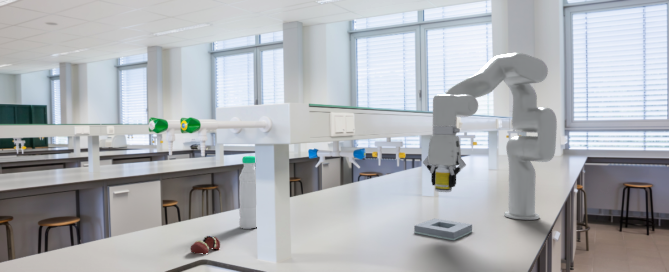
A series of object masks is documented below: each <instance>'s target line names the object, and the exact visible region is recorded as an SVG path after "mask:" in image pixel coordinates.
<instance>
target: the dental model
mask: <svg viewBox="0 0 669 272" xmlns="http://www.w3.org/2000/svg"><path fill="white" fill-rule="evenodd" d="M209 248H213V249H219V248H221V242H220V239H218V237H216V236H213V235H207V236H205V237H204V238H203V239H202V240H196V241H195V242H194V243H192V244H191V246H190V253H191V252H195V253H194V254H196V253H203V254H206V253H208V252H209V250H210V249H209ZM213 249H212V250H213ZM208 254H209V253H208Z"/></svg>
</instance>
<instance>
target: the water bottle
mask: <svg viewBox="0 0 669 272" xmlns="http://www.w3.org/2000/svg"><path fill="white" fill-rule="evenodd" d="M255 157H256V156H254V155H248V156H247V155H246V156H242V161H241V162H242V164H243V167H242V168H241V172H240V174H239V175H238V176H239V177H238V180H239V187H238V188H239V191H238V195H239V196H238V197H239V198H238V199H239V209H238V210H239V222H238V223H239V228H241V229H242V228H243V230H252V229H251V228H255V229H257V228H256V184H255V168H256V164H255Z"/></svg>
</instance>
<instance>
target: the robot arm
mask: <svg viewBox="0 0 669 272" xmlns="http://www.w3.org/2000/svg"><path fill="white" fill-rule="evenodd" d="M548 70H549V69H548V66H547V64H546V62H545V61H544V60H542V59H541V58H538V57H535V56H532V55H529V54H526V53H523V52H512V53H506V54H500V55H496V56H494V57H492V58H490V60H488V62H487V63H486V64H484V65H483V66H482V67H481V68H479V70H478V71H477V72H476V73H475V74H474V75H472V76H469V77H467V78H466V79H464V80H462V81H460V82H457V84H455V85H453V86H451V87H450V88H448V89H447V90H446V91H445V93H443V94H442V93H441V94H436V95H434V96H433V98H432V135H431V136H430V138H429V143H428V152H427V154H428V155H427V156H426V158H425V159H424V160H423V161H422V164H424V166H425V167H426V168H427V170H428V171H429V173H430V175H431V178H430V179H431V181H430V182H431V185H432V186H435V171H436V169H437V168H438V165H444V166H449V170H450V173H451V175H449V187H452V188H454V187H456V185H457V175H458V174H459V173H460V172H461V171H462V170H463V169H464V168H465V167H466V166H467V164H466V163H465V161H464V160H463V158H462V153H461V151H462V150H461V144H460V143H461V142H460V138H459V136H458V135H457V133H460V128H457V118H466V117H471V116H473V115H474V114H476V113H477V112H478V109H479V102H478V100H477V99H476V98H481V97H484V96H486V95H489V94H491V93H492V92H493V91H494V90H495V89H496V88H497V87H498V86H499V85H500V84H501V83H502V82H504V83H505V84H506V86H507V87H508V88H509V90H510V91H511V95H512V112H511V113H512V114H511V117H512V118H511V122H512V123H511V125H512V129H513V130H514V131H515V132H518V133H534V134H535V133H537V135H535V136H534V135H533V136H532V135H515V136H513V137H511V138H509V139H508V141H507V142H506V155H507V161H508V210H506V211H504V213H503V215H504V217H506V218H509V219H513V220H521V221H525V220H526V221H533V220H538V219H539V218H540V214H539V213H537V212H536V169H535V166H534V165H533V164H532V162H539V163H540V162H541V163H548V162H551V161H552V160H553V159H554V156H555V154H556V145H557V129H558V128H557V127H558V122H557V116H556V113H555V111H554V110H553V109H551V108H549V107H545V106H544V107H542V106H541V107H538V106H537V105H538V100H537V99H538V97H537V92H536V90H535V89H534V87H533V86H532V84H539V83H543V82H544V81H545V79H547V77H548V72H549V71H548Z"/></svg>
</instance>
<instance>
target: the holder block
mask: <svg viewBox="0 0 669 272" xmlns="http://www.w3.org/2000/svg"><path fill="white" fill-rule="evenodd" d="M413 232H414V234H419V235H424V236H429V237H434V238H439V239H444V240H445V239H446V240H450V241H456V240H457V239H460V238H462V237H464V236H466V235H468V234H471V233H472V232H473V224H472V223H471V224H470V223H467V222H458V221H453V220H446V219H440V218H432V219H430V220H426V221H423V222H421V223H418V224H414V231H413Z"/></svg>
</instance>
